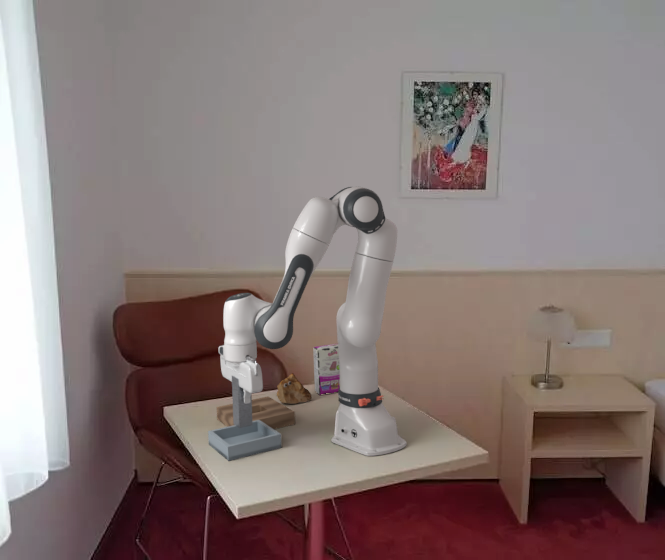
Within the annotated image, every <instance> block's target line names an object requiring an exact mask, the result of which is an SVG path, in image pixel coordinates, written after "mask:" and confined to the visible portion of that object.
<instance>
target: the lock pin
mask: <svg viewBox="0 0 665 560" xmlns="http://www.w3.org/2000/svg"><path fill="white" fill-rule="evenodd" d="M231 387H232V389H231V393H232V404H233V424H234V425H236V426H237V427H238V428H243V427H247V426H252V425H253V424H252V400H253V397H252V394H253V393H252V394H251V397H250V399H251V402H250V403H247V404H245V403H244V402H243V399H242V396H244V392H243V388H241V387H240V386H239V379H238V378H236V377H234V376H232V382H231Z"/></svg>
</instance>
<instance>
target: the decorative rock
mask: <svg viewBox="0 0 665 560" xmlns="http://www.w3.org/2000/svg"><path fill="white" fill-rule="evenodd" d="M276 387H277V392H276V396H277V399H278V400H279V403H281V404H289V405H290V404H291V405H292V404H294V405H295V404H299V403H307V402H308V401H309V402H310V401H312V399H313V398H312V394H311V392H310V391H309V390H308V389H307V388H306V387H304V385H303V384H302V382H300V380H299V379H298V378H297V377H296V375H295V374H294V373H293V372H292V373H290V374H289V375H288V377H285V378H284V379H282V380H281V381H280V382H279V383H278V384H277V386H276ZM309 402H308V403H309Z"/></svg>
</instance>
